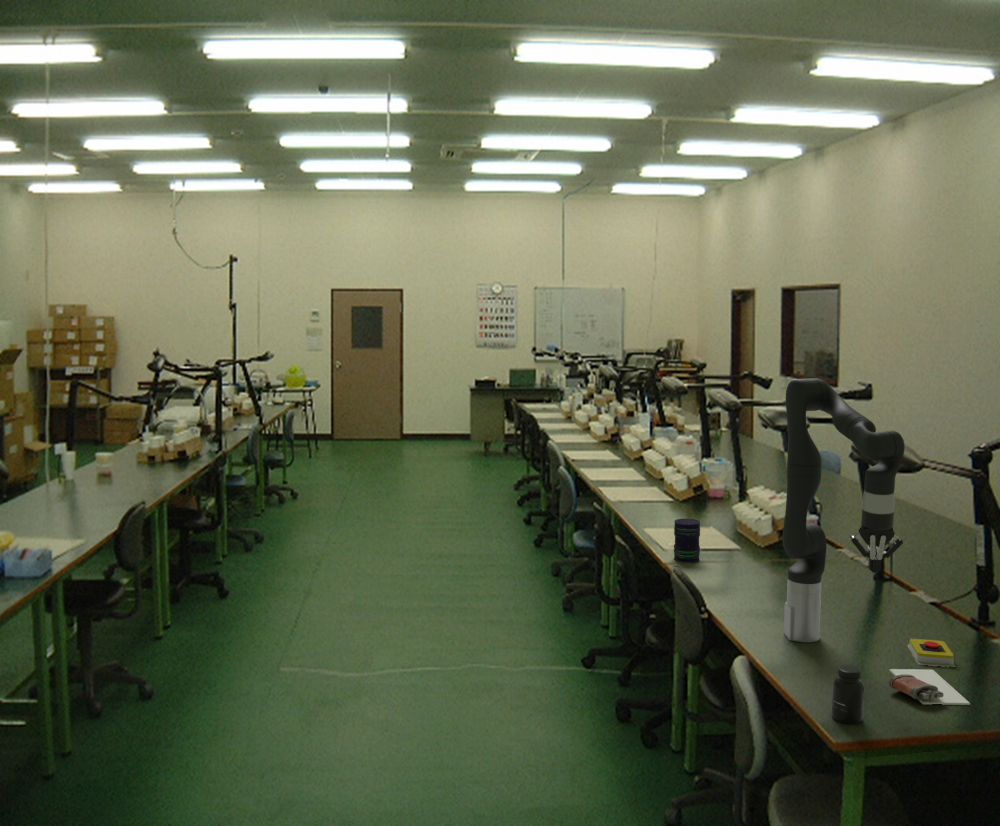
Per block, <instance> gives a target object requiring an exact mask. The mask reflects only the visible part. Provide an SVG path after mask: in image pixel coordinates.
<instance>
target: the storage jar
mask: <svg viewBox="0 0 1000 826" xmlns="http://www.w3.org/2000/svg"><path fill="white" fill-rule="evenodd" d="M700 524H701V521H700V520H698V519H695V518H677V519H675V520H674V525H673V534H674V544H673V555H674V556H673V560H674V561H676V562H679V563H684V564H685V563H688V564H689V563H690V564H691V563H697V562H699V561H700V553H701V546H700V536H701V525H700Z"/></svg>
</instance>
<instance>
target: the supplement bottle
mask: <svg viewBox="0 0 1000 826" xmlns="http://www.w3.org/2000/svg"><path fill="white" fill-rule="evenodd" d="M831 691H832V693H831V710H830V712H831V713H830V714H831V717H832V718H833V719H834V720H835V721H837V722H840V723H841V724H847V725H857V724H859V723H860V724H861V722H862V721H863V718H864V703H865V701H864V700H865V684H864V683H863V681H862V680H861V669H860V668H859V667H857V666H854V665H851V664H840V665H838V668H837V676H836V677H834V679H833V680H832V690H831Z"/></svg>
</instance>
